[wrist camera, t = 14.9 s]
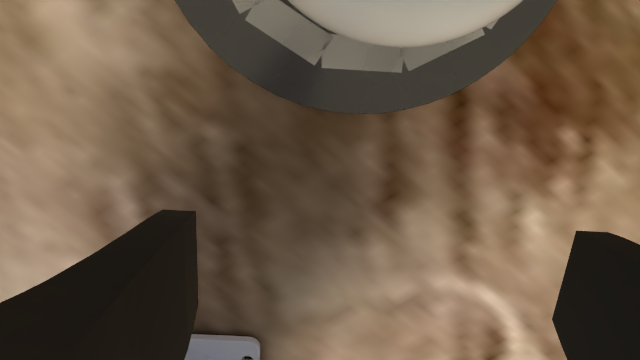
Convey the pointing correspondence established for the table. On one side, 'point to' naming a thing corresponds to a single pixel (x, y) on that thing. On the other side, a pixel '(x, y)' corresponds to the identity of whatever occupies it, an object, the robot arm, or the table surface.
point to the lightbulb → (404, 19)
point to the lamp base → (351, 55)
